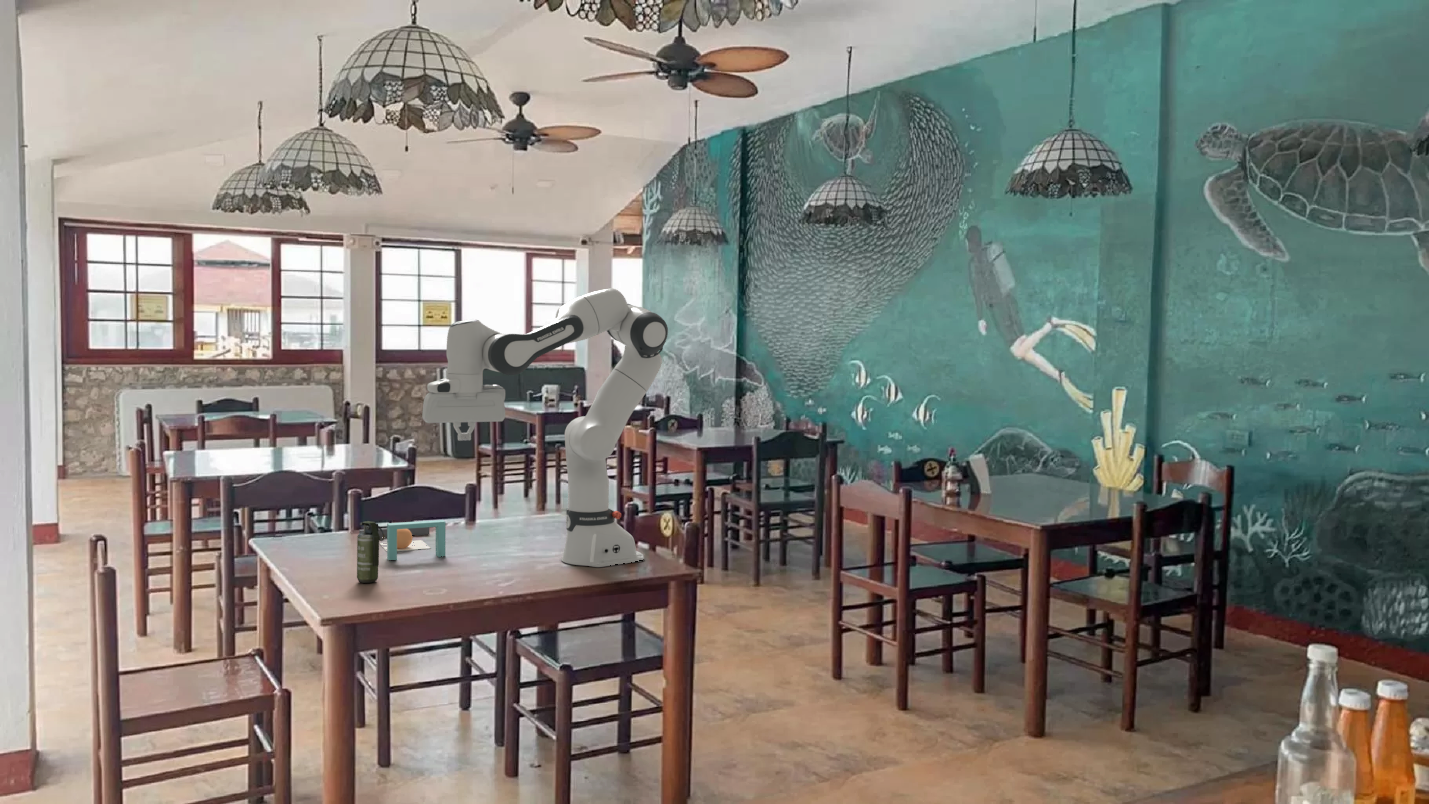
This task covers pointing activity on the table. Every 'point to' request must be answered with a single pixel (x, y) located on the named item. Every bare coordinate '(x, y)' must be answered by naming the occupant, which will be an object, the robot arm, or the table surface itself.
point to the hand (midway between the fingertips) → (464, 440)
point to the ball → (403, 538)
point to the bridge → (393, 527)
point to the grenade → (368, 552)
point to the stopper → (413, 530)
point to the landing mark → (418, 545)
